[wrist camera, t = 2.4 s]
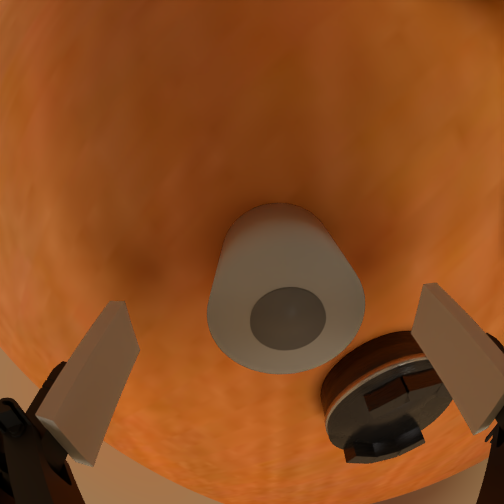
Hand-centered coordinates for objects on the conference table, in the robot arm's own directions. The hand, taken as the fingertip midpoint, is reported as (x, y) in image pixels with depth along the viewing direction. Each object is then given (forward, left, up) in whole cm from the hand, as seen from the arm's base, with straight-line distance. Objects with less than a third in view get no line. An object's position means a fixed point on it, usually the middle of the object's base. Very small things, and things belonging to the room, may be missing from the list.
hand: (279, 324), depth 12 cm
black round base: (+12, +9, -6) cm, 16 cm away
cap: (0, 0, -6) cm, 6 cm away
